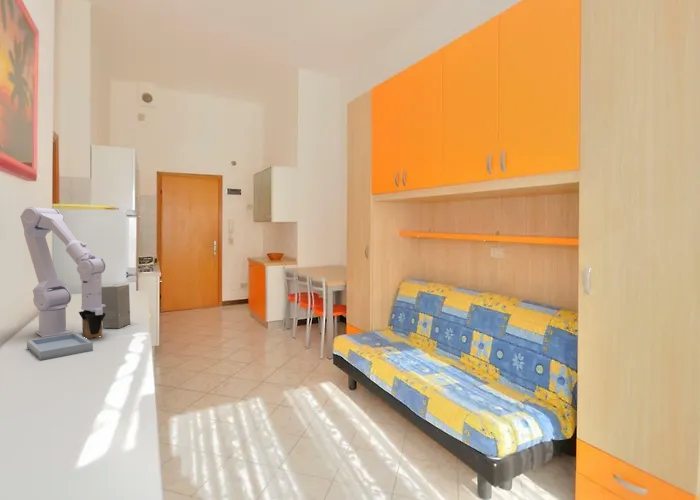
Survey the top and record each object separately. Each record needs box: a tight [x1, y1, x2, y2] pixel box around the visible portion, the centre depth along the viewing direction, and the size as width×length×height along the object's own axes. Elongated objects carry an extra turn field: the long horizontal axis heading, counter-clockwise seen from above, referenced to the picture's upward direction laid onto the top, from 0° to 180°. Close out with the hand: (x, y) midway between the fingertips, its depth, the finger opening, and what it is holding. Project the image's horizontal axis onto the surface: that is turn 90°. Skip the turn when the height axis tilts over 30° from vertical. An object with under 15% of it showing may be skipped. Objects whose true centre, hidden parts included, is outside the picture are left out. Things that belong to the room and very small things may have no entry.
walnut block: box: [81, 318, 103, 340], centre depth 138 cm, size 4×4×6 cm
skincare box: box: [102, 283, 131, 329], centre depth 152 cm, size 8×7×16 cm
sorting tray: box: [26, 332, 94, 361], centre depth 123 cm, size 16×13×2 cm
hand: (92, 332), depth 138 cm, fingers closed on walnut block, 4 cm apart
